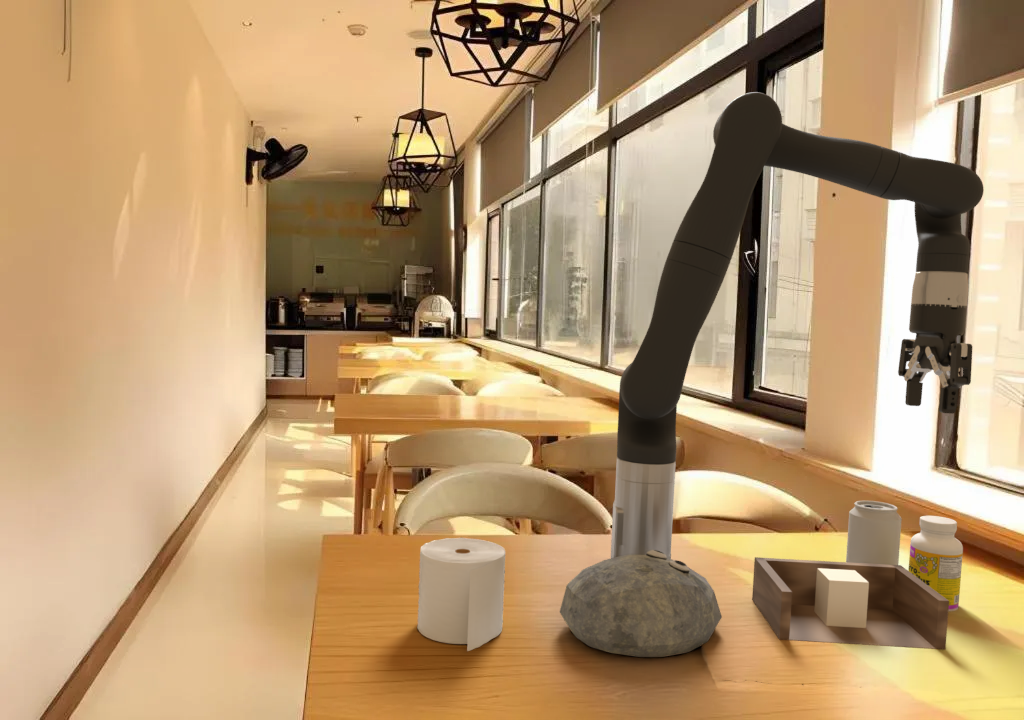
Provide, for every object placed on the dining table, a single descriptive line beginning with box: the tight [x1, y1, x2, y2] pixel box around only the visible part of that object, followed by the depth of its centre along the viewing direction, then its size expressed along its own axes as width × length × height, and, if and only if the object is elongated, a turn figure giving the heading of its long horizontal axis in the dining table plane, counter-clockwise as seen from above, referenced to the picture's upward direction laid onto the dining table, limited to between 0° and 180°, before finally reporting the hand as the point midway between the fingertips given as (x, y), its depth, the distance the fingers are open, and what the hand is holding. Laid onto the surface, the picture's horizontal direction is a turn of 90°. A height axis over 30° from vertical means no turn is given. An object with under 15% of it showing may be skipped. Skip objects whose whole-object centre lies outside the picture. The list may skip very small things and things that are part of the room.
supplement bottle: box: [907, 515, 964, 612], centre depth 116 cm, size 7×7×13 cm
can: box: [845, 500, 903, 565], centre depth 128 cm, size 8×8×12 cm
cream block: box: [814, 568, 869, 628], centre depth 108 cm, size 5×5×6 cm
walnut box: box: [751, 556, 949, 650], centre depth 107 cm, size 20×14×7 cm
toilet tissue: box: [417, 537, 506, 652], centre depth 102 cm, size 11×12×10 cm
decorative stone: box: [559, 550, 723, 658], centre depth 103 cm, size 18×21×10 cm
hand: (929, 409), depth 125 cm, fingers open, 8 cm apart
